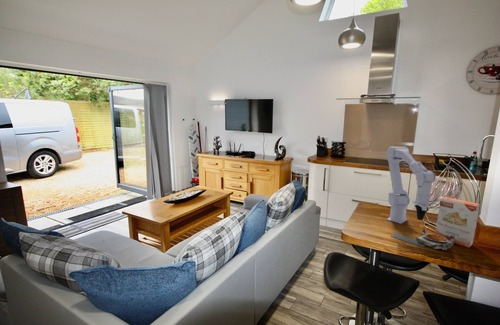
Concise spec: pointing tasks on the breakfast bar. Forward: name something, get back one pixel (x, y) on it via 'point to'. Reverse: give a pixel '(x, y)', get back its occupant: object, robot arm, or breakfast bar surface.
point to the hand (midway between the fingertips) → (419, 219)
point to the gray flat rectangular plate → (408, 239)
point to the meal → (435, 241)
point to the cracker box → (457, 220)
